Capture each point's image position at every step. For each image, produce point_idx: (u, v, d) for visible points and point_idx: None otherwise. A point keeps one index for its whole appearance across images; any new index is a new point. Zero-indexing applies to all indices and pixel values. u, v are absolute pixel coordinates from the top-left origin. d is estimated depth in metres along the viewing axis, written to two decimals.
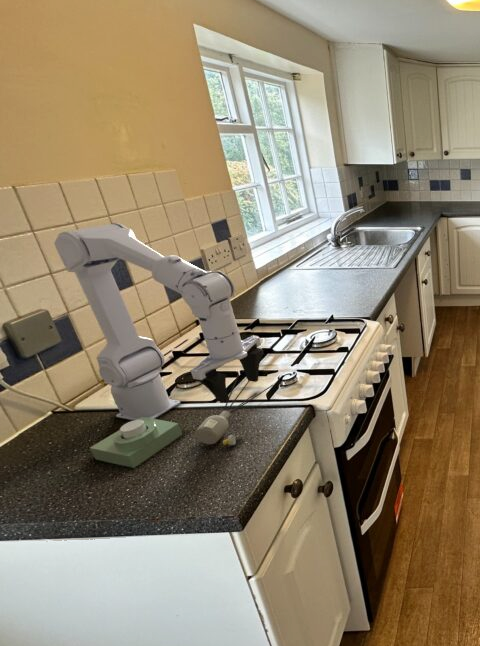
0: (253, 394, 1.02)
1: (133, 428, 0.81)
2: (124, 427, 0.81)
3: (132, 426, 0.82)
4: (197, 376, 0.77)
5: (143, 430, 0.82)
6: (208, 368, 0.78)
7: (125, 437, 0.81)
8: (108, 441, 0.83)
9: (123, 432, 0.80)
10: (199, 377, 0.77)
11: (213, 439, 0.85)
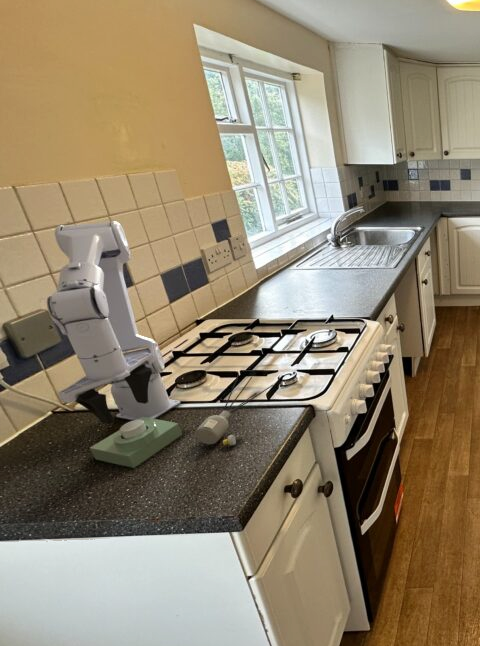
0: (253, 394, 1.02)
1: (133, 428, 0.81)
2: (124, 427, 0.81)
3: (132, 426, 0.82)
4: (65, 399, 0.71)
5: (143, 430, 0.82)
6: (79, 390, 0.72)
7: (125, 437, 0.81)
8: (108, 441, 0.83)
9: (123, 432, 0.80)
10: (67, 400, 0.71)
11: (213, 439, 0.85)
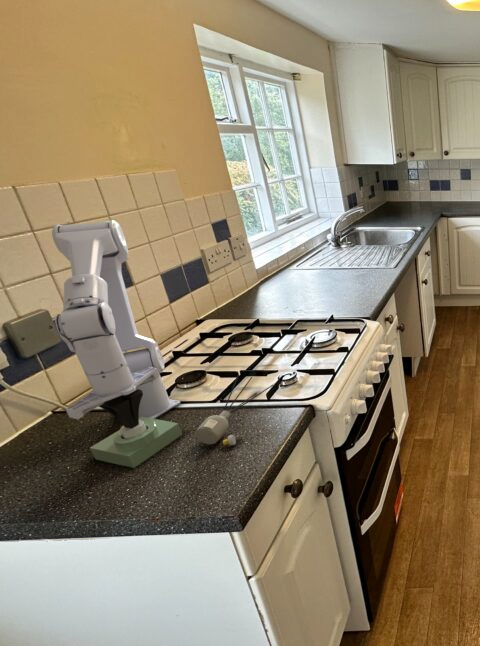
0: (253, 394, 1.02)
1: (133, 428, 0.81)
2: (124, 427, 0.81)
3: None
4: (73, 415, 0.72)
5: (143, 430, 0.82)
6: (86, 406, 0.73)
7: (125, 437, 0.81)
8: (108, 441, 0.83)
9: (123, 432, 0.80)
10: (75, 416, 0.72)
11: (213, 439, 0.85)
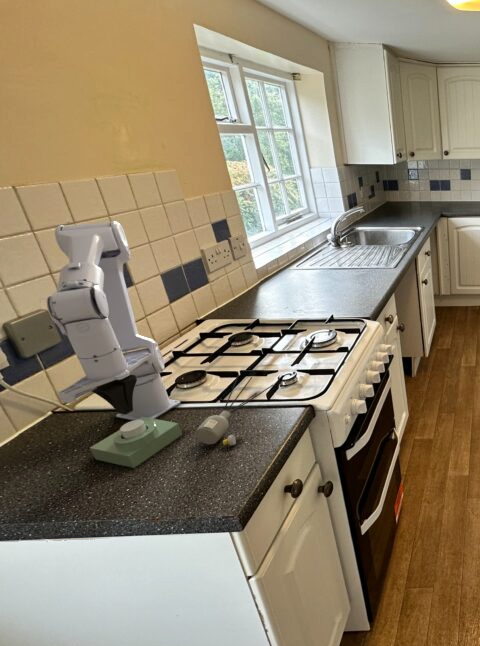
0: (253, 394, 1.02)
1: (133, 428, 0.81)
2: (124, 427, 0.81)
3: (132, 426, 0.82)
4: (65, 399, 0.71)
5: (143, 430, 0.82)
6: (79, 390, 0.72)
7: (125, 437, 0.81)
8: (108, 441, 0.83)
9: (123, 432, 0.80)
10: (67, 400, 0.71)
11: (213, 439, 0.85)
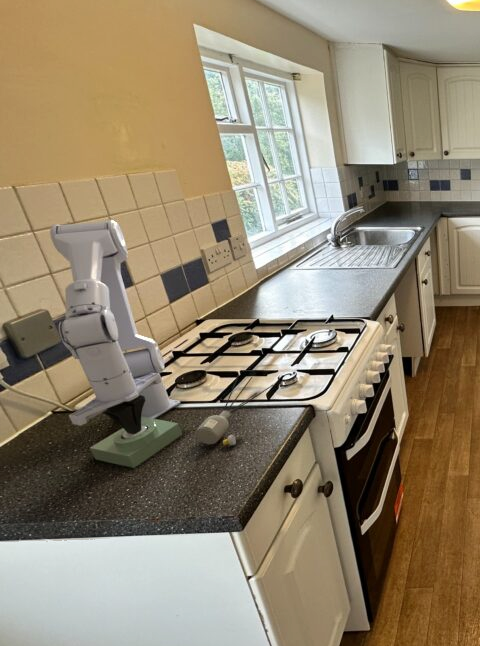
0: (254, 394, 1.02)
1: (135, 434, 0.81)
2: (127, 433, 0.82)
3: None
4: (76, 422, 0.73)
5: None
6: (89, 412, 0.74)
7: None
8: (108, 441, 0.83)
9: (126, 438, 0.81)
10: (78, 423, 0.73)
11: (213, 439, 0.85)
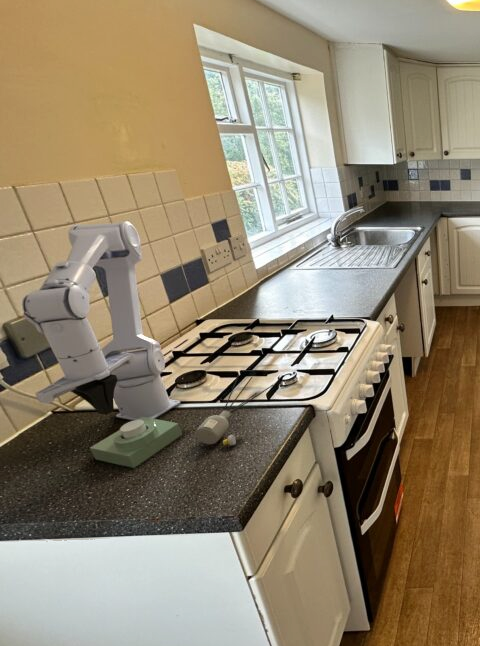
0: (254, 394, 1.02)
1: (133, 428, 0.81)
2: (124, 427, 0.81)
3: (132, 426, 0.82)
4: (43, 399, 0.70)
5: (143, 430, 0.82)
6: (57, 390, 0.71)
7: (125, 437, 0.81)
8: (108, 441, 0.83)
9: (123, 432, 0.80)
10: (45, 400, 0.70)
11: (213, 439, 0.85)
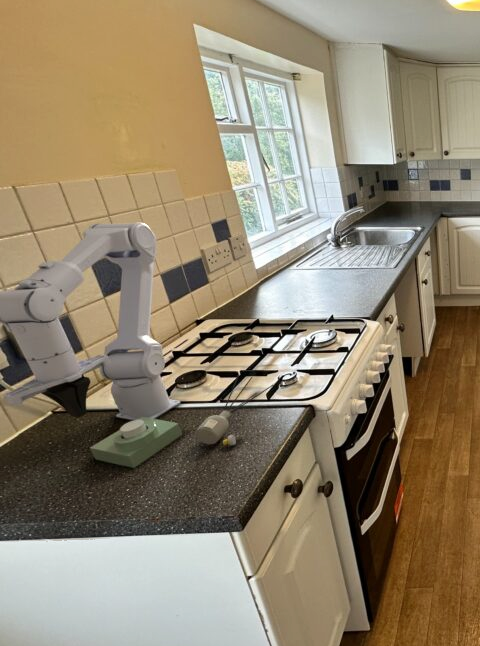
0: (254, 394, 1.02)
1: (133, 428, 0.81)
2: (124, 427, 0.81)
3: (132, 426, 0.82)
4: (10, 402, 0.69)
5: (143, 430, 0.82)
6: (26, 392, 0.70)
7: (125, 437, 0.81)
8: (108, 441, 0.83)
9: (123, 432, 0.80)
10: (13, 403, 0.69)
11: (213, 439, 0.85)
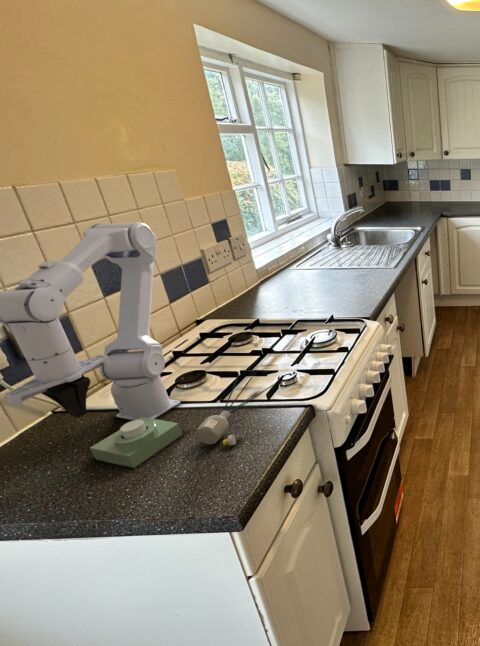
0: (254, 394, 1.02)
1: (133, 428, 0.81)
2: (124, 427, 0.81)
3: (132, 426, 0.82)
4: (10, 402, 0.69)
5: (143, 430, 0.82)
6: (26, 392, 0.70)
7: (125, 437, 0.81)
8: (108, 441, 0.83)
9: (123, 432, 0.80)
10: (13, 403, 0.69)
11: (213, 439, 0.85)
